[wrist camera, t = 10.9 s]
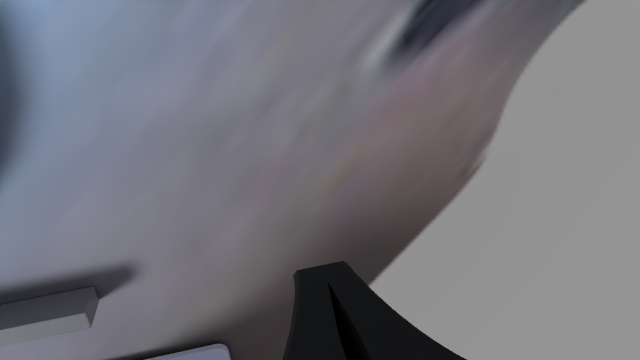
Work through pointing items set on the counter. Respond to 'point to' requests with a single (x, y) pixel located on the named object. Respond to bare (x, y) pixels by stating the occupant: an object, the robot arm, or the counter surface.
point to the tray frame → (47, 315)
